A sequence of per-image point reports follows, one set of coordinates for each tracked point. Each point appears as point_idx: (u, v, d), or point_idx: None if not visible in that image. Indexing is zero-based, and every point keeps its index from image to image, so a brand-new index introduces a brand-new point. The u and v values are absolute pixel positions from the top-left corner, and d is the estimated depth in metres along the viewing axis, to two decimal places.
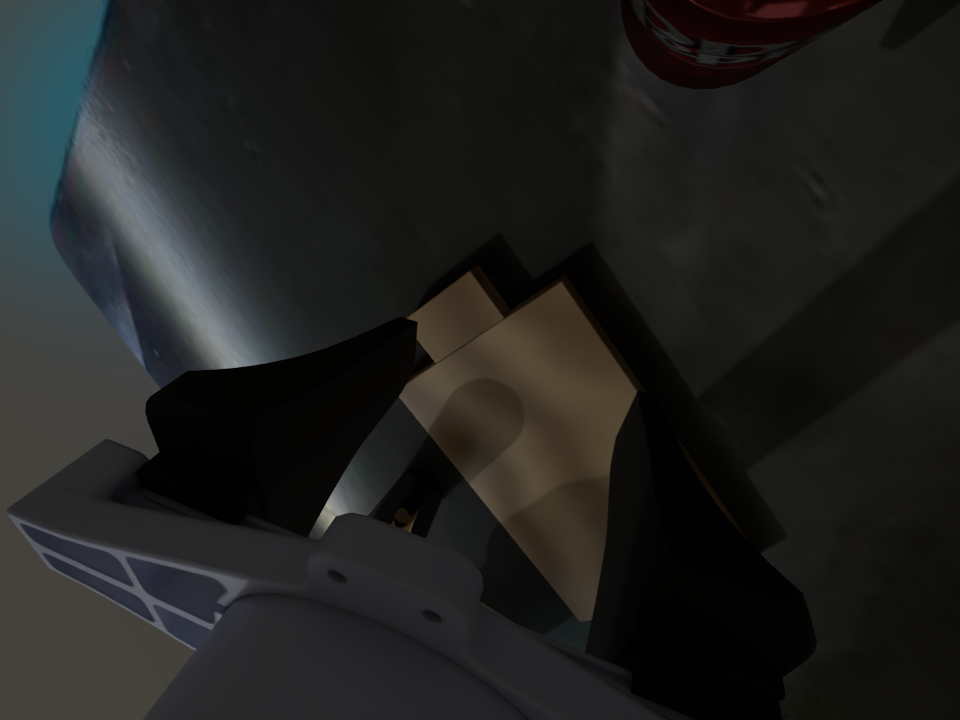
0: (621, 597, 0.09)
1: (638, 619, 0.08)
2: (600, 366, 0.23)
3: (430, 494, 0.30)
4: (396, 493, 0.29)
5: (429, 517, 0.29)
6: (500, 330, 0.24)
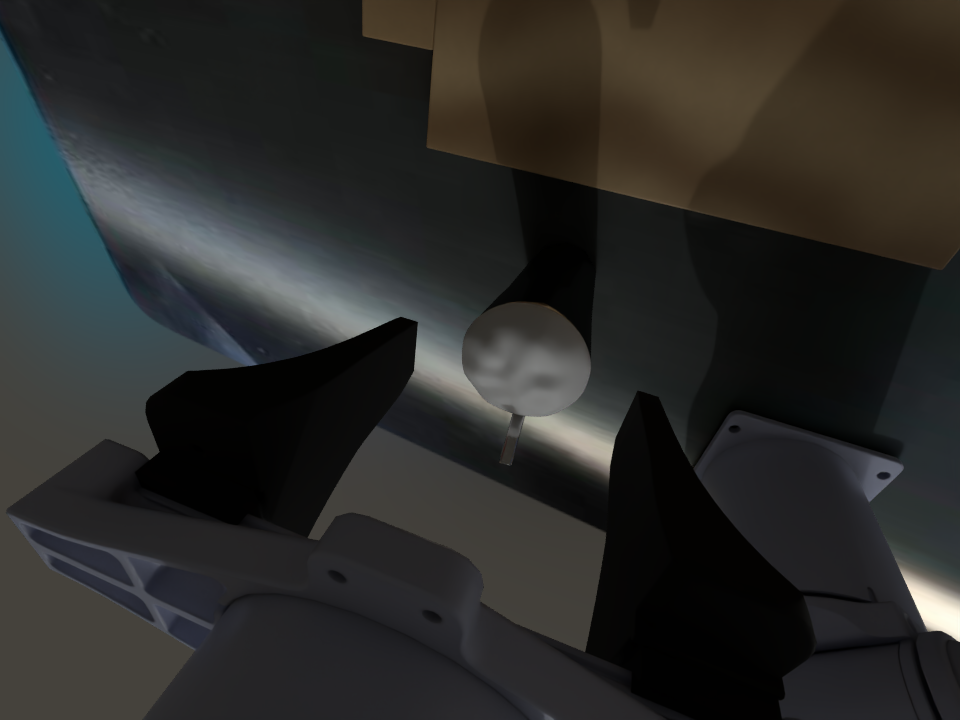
0: (621, 597, 0.09)
1: (638, 619, 0.08)
2: None
3: (566, 253, 0.20)
4: (519, 275, 0.20)
5: (578, 270, 0.19)
6: None
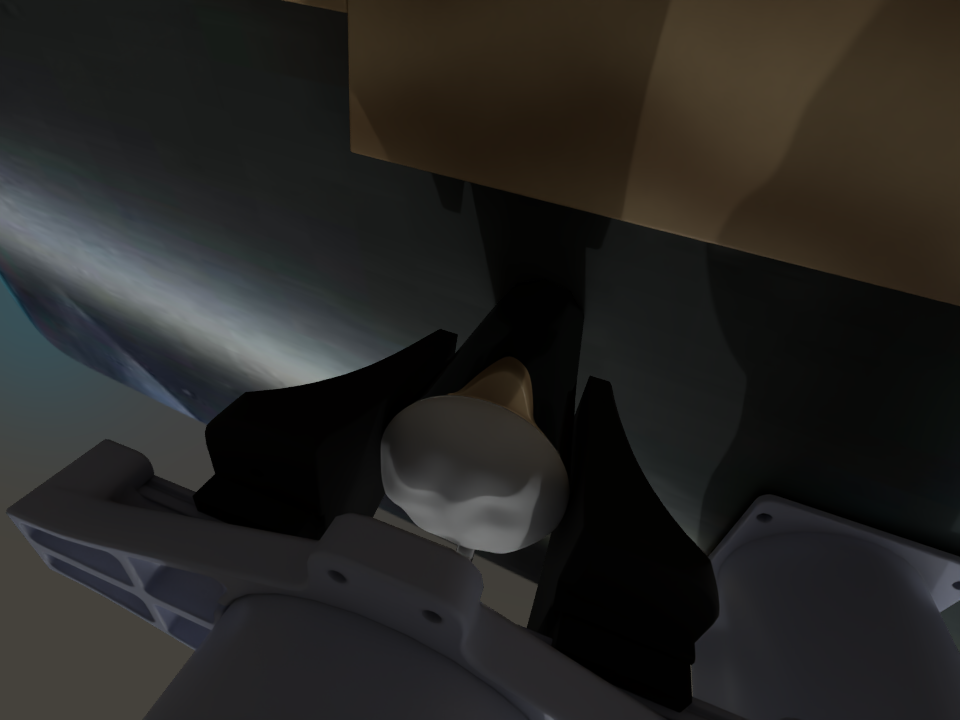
0: (553, 570, 0.10)
1: (559, 588, 0.08)
2: None
3: (543, 296, 0.15)
4: (479, 326, 0.15)
5: (558, 324, 0.14)
6: None
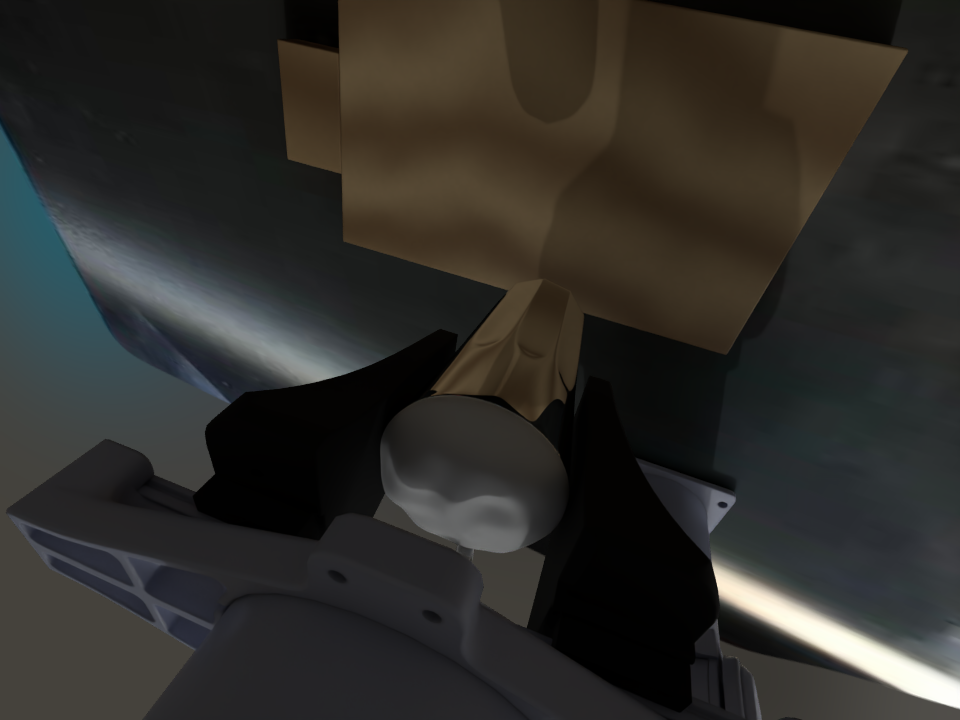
0: (553, 570, 0.10)
1: (559, 588, 0.08)
2: None
3: (542, 296, 0.15)
4: (479, 326, 0.15)
5: (558, 324, 0.14)
6: (347, 71, 0.20)
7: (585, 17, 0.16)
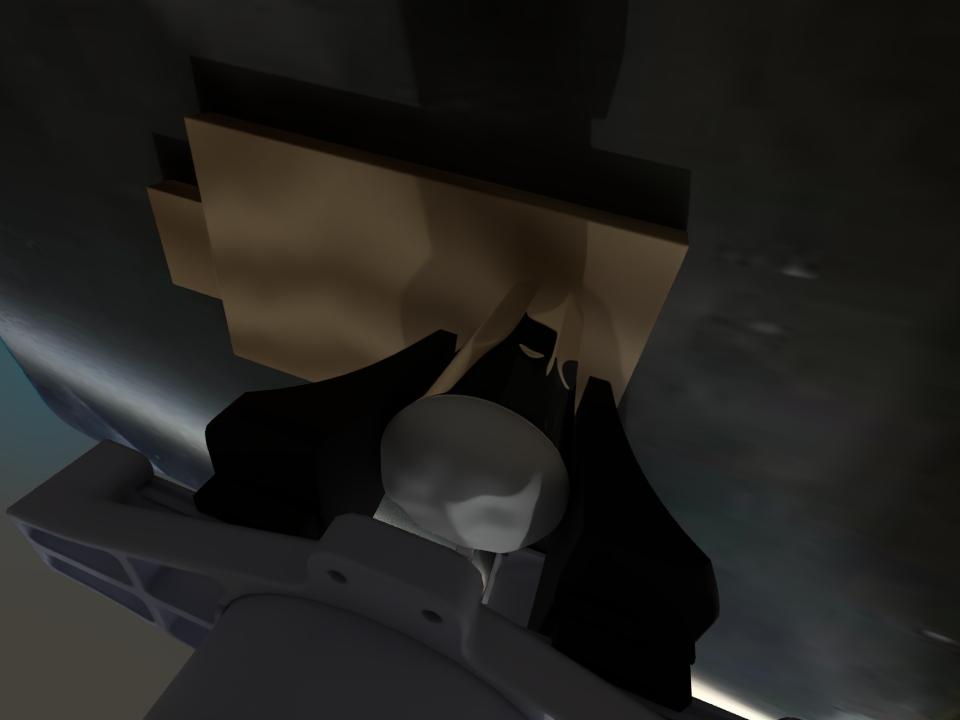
0: (553, 570, 0.10)
1: (559, 588, 0.08)
2: (287, 165, 0.18)
3: (543, 296, 0.15)
4: (479, 326, 0.15)
5: (558, 323, 0.14)
6: (211, 217, 0.21)
7: (408, 194, 0.17)
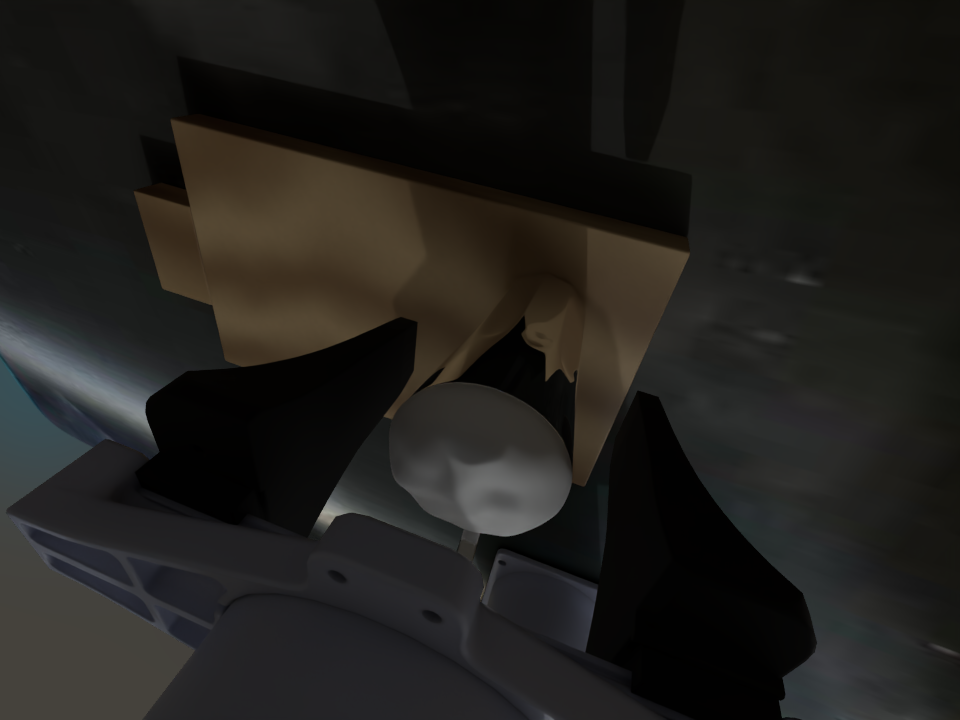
0: (621, 597, 0.09)
1: (638, 619, 0.08)
2: (276, 168, 0.18)
3: (545, 289, 0.15)
4: (483, 319, 0.15)
5: (560, 316, 0.14)
6: (200, 222, 0.20)
7: (400, 199, 0.17)
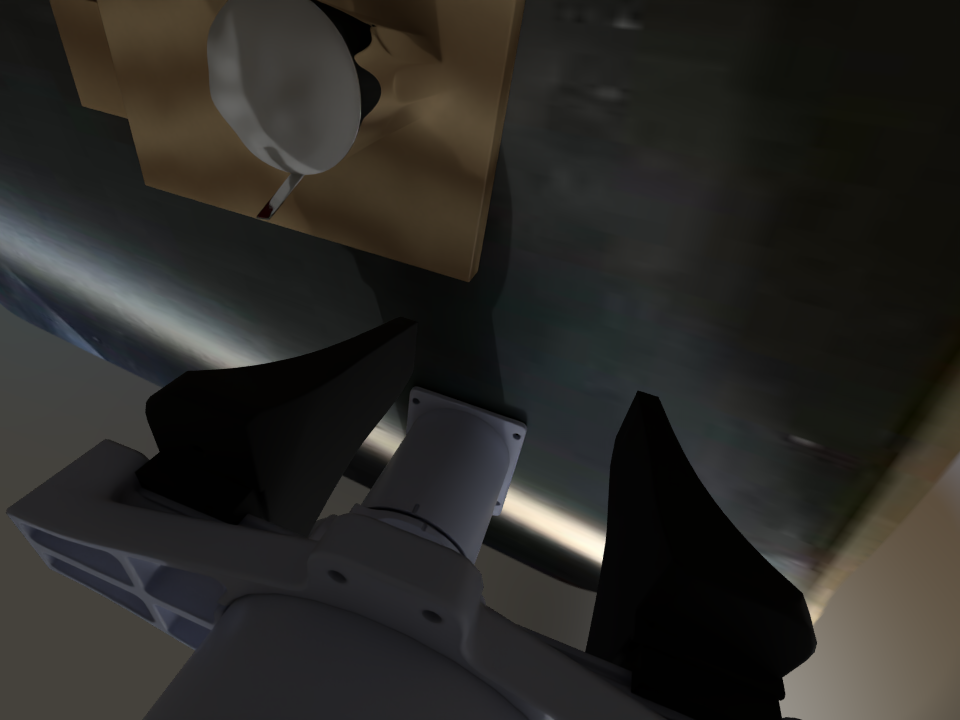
0: (621, 597, 0.09)
1: (638, 619, 0.08)
2: None
3: (393, 24, 0.17)
4: None
5: (395, 28, 0.16)
6: (107, 18, 0.22)
7: None
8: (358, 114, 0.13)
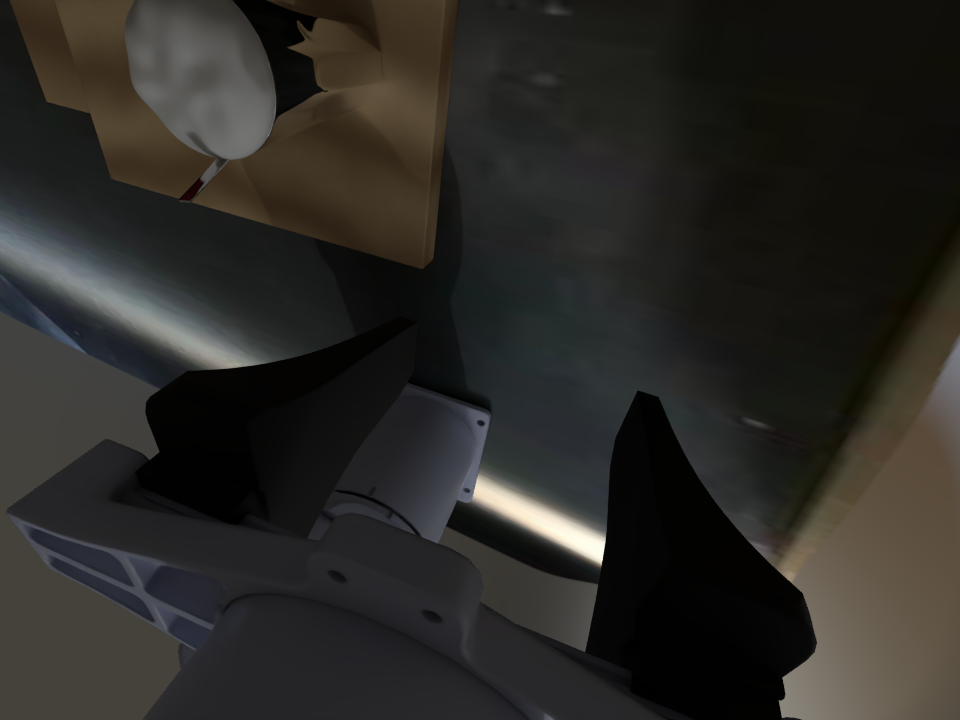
0: (621, 597, 0.09)
1: (638, 619, 0.08)
2: None
3: (327, 14, 0.17)
4: None
5: (325, 17, 0.16)
6: (64, 15, 0.22)
7: None
8: (273, 99, 0.13)
